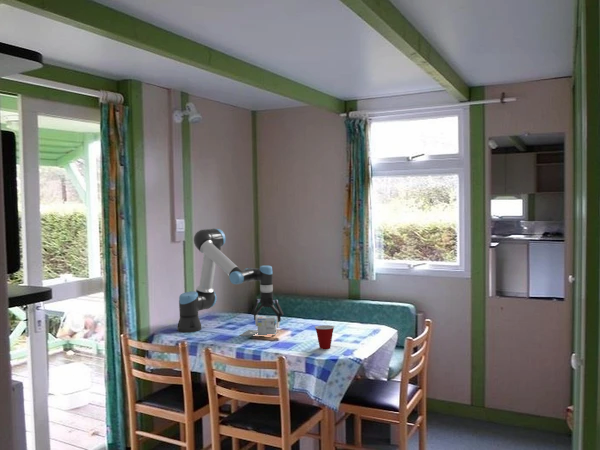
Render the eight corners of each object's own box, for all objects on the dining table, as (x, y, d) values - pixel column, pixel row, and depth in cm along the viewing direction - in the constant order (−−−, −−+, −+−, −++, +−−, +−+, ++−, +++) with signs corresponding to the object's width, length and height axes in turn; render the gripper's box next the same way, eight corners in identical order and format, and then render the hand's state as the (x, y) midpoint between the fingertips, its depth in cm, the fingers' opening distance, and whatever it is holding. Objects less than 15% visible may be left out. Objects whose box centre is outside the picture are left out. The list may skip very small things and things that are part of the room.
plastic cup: (333, 344, 289) (333, 323, 289) (335, 350, 278) (335, 328, 278) (314, 345, 289) (314, 324, 288) (315, 350, 278) (315, 328, 277)
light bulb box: (276, 333, 317) (276, 315, 317) (275, 335, 310) (274, 318, 310) (259, 332, 318) (259, 315, 318) (257, 335, 312) (256, 317, 311)
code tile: (239, 335, 314) (239, 335, 314) (248, 330, 327) (248, 329, 327) (270, 337, 307) (270, 337, 307) (278, 331, 321) (278, 331, 321)
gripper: (245, 291, 313) (245, 326, 314) (284, 293, 306) (284, 329, 307) (250, 289, 321) (250, 323, 321) (288, 291, 313) (289, 326, 314)
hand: (267, 326), depth 314 cm, fingers open, 13 cm apart
